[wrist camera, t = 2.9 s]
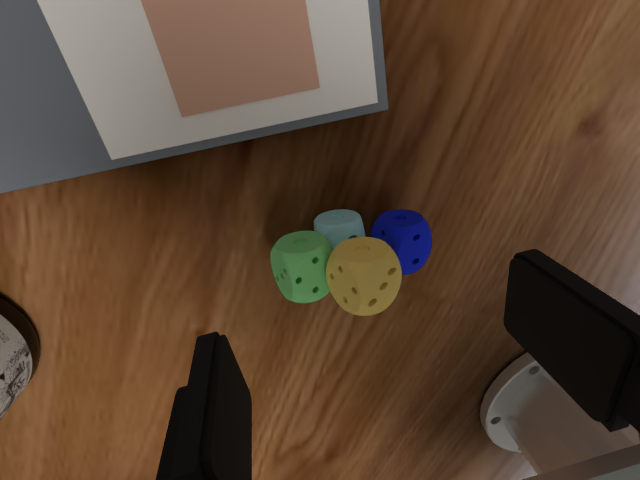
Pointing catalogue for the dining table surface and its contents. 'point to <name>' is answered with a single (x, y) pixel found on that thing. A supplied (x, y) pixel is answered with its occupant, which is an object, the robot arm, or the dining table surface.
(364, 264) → the dice
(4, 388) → the ink bottle
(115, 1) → the colouring board
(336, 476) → the dining table surface
